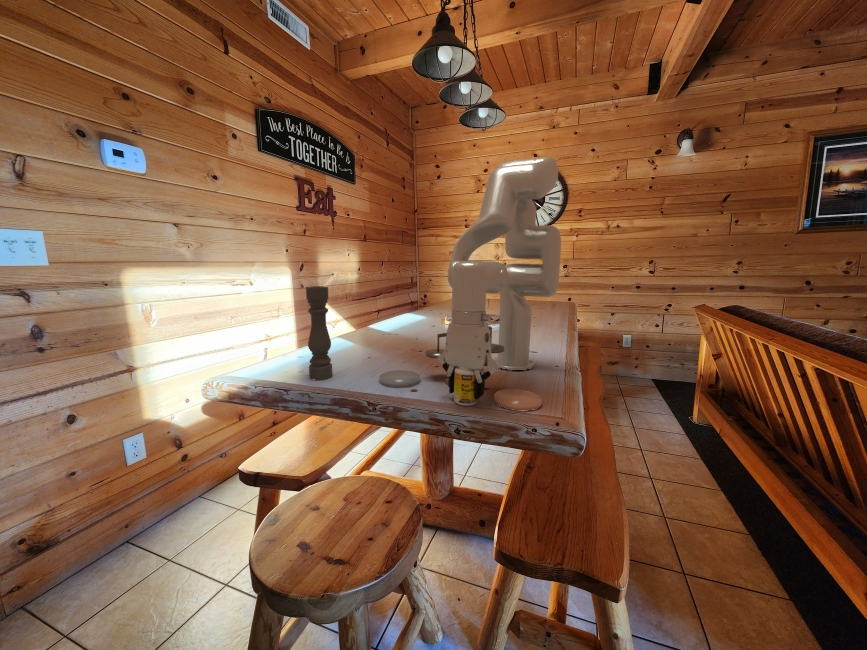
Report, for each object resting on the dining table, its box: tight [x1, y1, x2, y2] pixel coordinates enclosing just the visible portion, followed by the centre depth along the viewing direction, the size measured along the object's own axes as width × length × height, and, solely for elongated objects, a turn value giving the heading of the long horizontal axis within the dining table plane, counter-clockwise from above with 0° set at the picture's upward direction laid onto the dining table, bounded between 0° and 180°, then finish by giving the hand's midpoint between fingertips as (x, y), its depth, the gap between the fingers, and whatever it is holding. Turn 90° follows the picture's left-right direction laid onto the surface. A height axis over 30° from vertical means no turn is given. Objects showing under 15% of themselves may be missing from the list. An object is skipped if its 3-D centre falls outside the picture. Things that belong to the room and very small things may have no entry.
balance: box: [425, 325, 504, 386], centre depth 97 cm, size 7×22×16 cm, turn 57°
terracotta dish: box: [493, 388, 543, 410], centre depth 86 cm, size 11×11×1 cm
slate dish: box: [378, 370, 421, 389], centre depth 100 cm, size 11×11×1 cm
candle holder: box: [305, 285, 333, 381], centre depth 100 cm, size 6×6×25 cm
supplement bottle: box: [453, 367, 479, 407], centre depth 85 cm, size 6×6×10 cm
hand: (465, 393), depth 86 cm, fingers open, 5 cm apart
